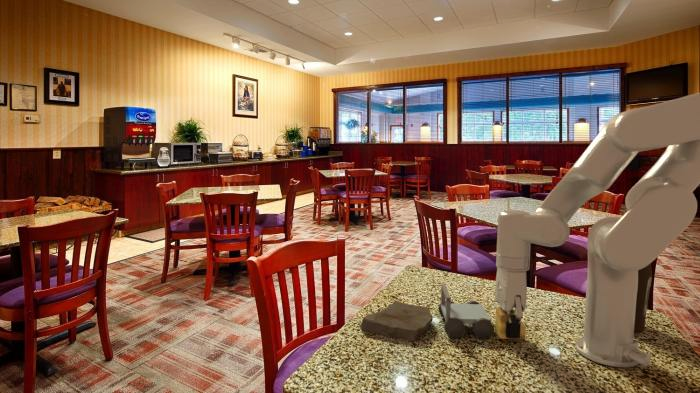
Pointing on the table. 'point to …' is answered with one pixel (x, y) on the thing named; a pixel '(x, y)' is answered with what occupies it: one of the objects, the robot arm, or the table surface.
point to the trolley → (464, 317)
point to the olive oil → (642, 297)
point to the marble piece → (398, 321)
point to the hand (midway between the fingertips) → (509, 332)
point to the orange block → (501, 324)
